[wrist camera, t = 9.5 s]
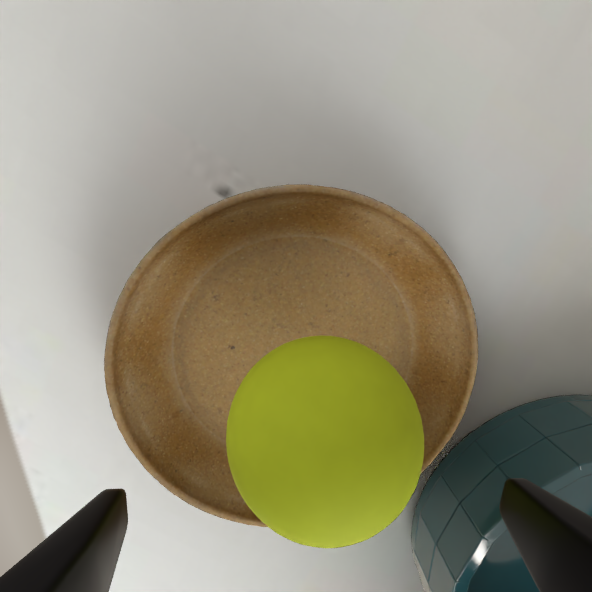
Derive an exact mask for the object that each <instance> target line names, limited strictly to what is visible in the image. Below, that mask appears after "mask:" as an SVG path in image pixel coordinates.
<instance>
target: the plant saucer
mask: <svg viewBox="0 0 592 592" xmlns="http://www.w3.org/2000/svg"><path fill="white" fill-rule="evenodd" d="M310 336H335V337H341V338H345V339H349V340H352V341H355V342H358V343H360V344H362V345H364V346H366V347H368V348H370V349H372V350H373V351H375V352H376V353H378V354H379V355H381V356H382V357H383V358H384V359H385V360H387V361H388V362H389V363H390V364H391V365H392V366H393V367H394V368H395V369H396V370H397V372H398V373H399V374H400V376H401V377H402V378H403V379H404V381H405V382H406V384H407V385H408V387H409V389H410V391H411V393H412V395H413V397H414V399H415V401H416V404H417V407H418V410H419V413H420V416H421V420H422V426H423V433H424V458H423V465H422V469H421V473H422V472H423V471H424V470H425V469H426V468H427V467H428V466H429V465H430V464H431V463H432V462H433V460H434V459H435V458H436V456H437V455H438V454H439V453H440V452H441V451H442V449H443V448H444V447H445V445H446V444H447V442H448V441H449V440H450V438H451V437H452V435H453V434H454V432H455V430H456V429H457V427H458V425H459V423H460V421H461V419H462V417H463V415H464V413H465V410H466V408H467V405H468V403H469V398H470V395H471V393H472V389H473V385H474V381H475V376H476V371H477V361H478V340H477V338H478V333H477V324H476V319H475V313H474V310H473V307H472V303H471V299H470V297H469V294H468V292H467V290H466V287H465V284H464V282H463V280H462V278H461V276H460V275H459V273H458V271H457V269H456V267H455V266H454V264H453V263H452V261H451V260H450V259H449V257H448V256H447V254H446V253H445V251H444V250H443V249H442V248H441V247H440V245H439V244H438V243H437V242H436V241H435V240H434V239H433V238H432V237H431V235H429V234H428V233H427V232H426V231H425V230H424V229H423V228H422V227H420V226H419V225H418V224H417V223H415V222H414V221H413V220H411V219H410V218H408V217H407V216H406V215H404V214H402V213H400V212H399V211H397V210H395V209H393V208H392V207H390V206H389V205H386V204H384V203H382V202H378V201H377V200H375V199H372V198H370V197H367V196H365V195H362V194H359V193H356V192H352V191H347V190H343V189H338V188H333V187H324V186H313V185H281V186H273V187H266V188H260V189H255V190H252V191H248V192H244V193H242V194H238V195H235V196H232V197H229V198H226V199H224V200H222V201H219V202H217V203H215V204H212V205H210V206H208V207H206V208H204V209H202V210H201V211H199V212H197V213H196V214H194V215H192V216H191V217H189V218H188V219H186V220H185V221H183V222H182V223H180V224H179V225H177V226H176V227H175V228H174V229H172V230H171V231H170V232H168V233H167V234H166V235H165V236H163V237H162V238H161V239H160V240H159V241H158V242H157V243H156V244H155V245H154V246H153V247H152V249H151V250H150V251H149V252H148V253H147V254H146V255H145V256H144V258H143V259H142V260H141V262H140V263H139V264H138V266H137V267H136V268H135V270H134V271H133V273H132V274H131V276H130V277H129V279H128V280H127V282H126V284H125V286H124V288H123V290H122V292H121V294H120V296H119V298H118V301H117V303H116V306H115V309H114V311H113V314H112V317H111V320H110V324H109V329H108V334H107V340H106V348H105V358H104V371H105V382H106V389H107V394H108V398H109V402H110V407H111V409H112V413H113V416H114V419H115V420H116V422H117V425H118V428H119V430H120V432H121V433H122V435H123V437H124V439H125V441H126V443H127V445H128V446H129V448H130V449H131V451H132V452H133V453H134V454H135V456H136V458H137V459H138V460H139V461H140V463H141V464H142V465H143V466H144V468H145V469H146V470H147V471H148V472H149V473H150V474H151V475H152V476H153V477H154V478H155V479H156V480H158V481H159V483H160V484H162V485H163V486H164V487H165V488H167V489H168V490H169V491H170V492H171V493H173V494H174V495H176V496H178V497H179V498H180V499H182V500H184V501H185V502H187V503H188V504H190V505H192V506H194V507H196V508H198V509H200V510H203V511H205V512H207V513H209V514H212V515H215V516H218V517H220V518H224V519H227V520H231V521H235V522H239V523H244V524H247V525H254V526H261V527H268V526H267V525H265V524H264V523H263V522H262V521H261V520H260V519H259V518H258V517H257V516H256V515H255V514H254V513H253V512H252V510H251V509H250V508H249V507H248V505H247V504H246V502H245V501H244V499H243V498H242V496H241V494H240V492H239V491H238V488H237V486H236V484H235V482H234V479H233V476H232V473H231V470H230V466H229V462H228V456H227V447H226V431H227V420H228V416H229V412H230V408H231V404H232V401H233V399H234V396H235V394H236V392H237V390H238V388H239V386H240V384H241V383H242V381H243V379H244V377H245V376H246V375H247V373H248V372H249V371H250V369H251V368H252V367H253V366H254V365H255V364H256V363H257V362H258V361H259V360H260V359H262V358H263V357H264V356H265V355H267V354H268V353H269V352H271V351H272V350H274V349H275V348H277V347H279V346H281V345H283V344H285V343H287V342H290V341H293V340H296V339H299V338H304V337H310ZM421 473H420V474H421Z"/></svg>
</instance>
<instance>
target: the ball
mask: <svg viewBox="0 0 592 592" xmlns="http://www.w3.org/2000/svg"><path fill="white" fill-rule="evenodd" d="M226 447H227V456H228V462H229V466H230V470H231V473H232V476H233V479H234V482H235V484H236V486H237V488H238V491H239V492H240V494H241V496H242V498H243V499H244V501H245V502H246V504H247V505H248V507H249V508H250V509H251V510H252V512H253V513H254V514H255V515H256V516H257V517H258V518H259V519H260V520H261V521H262V522H263V523H264V524H265V525H267V526H268V527H269V528H271V529H272V530H273V531H275V532H276V533H277V534H279V535H281V536H283V537H285V538H287V539H289V540H291V541H294V542H296V543H299V544H302V545H307V546H312V547H318V548H338V547H344V546H349V545H353V544H356V543H359V542H362V541H364V540H367V539H369V538H371V537H372V536H374V535H376V534H377V533H379V532H381V531H382V530H383V529H384V528H386V527H387V526H388V525H390V524H391V523H392V522H393V521H394V520H395V519H396V518H397V517H398V516H399V514H400V513H401V512H402V511H403V509H404V508H405V507H406V505H407V503H408V502H409V500H410V498H411V496H412V494H413V493H414V491H415V488H416V486H417V484H418V480H419V476H420V473H421V469H422V465H423V458H424V433H423V426H422V420H421V416H420V413H419V410H418V407H417V404H416V401H415V399H414V397H413V395H412V393H411V391H410V389H409V387H408V385H407V384H406V382H405V381H404V379H403V378H402V377H401V376H400V374H399V373H398V372H397V370H396V369H395V368H394V367H393V366H392V365H391V364H390V363H389V362H388V361H387V360H385V359H384V358H383V357H382V356H381V355H379V354H378V353H376V352H375V351H373V350H372V349H370V348H368V347H366V346H364V345H362V344H360V343H358V342H355V341H352V340H349V339H345V338H341V337H335V336H310V337H304V338H299V339H296V340H293V341H290V342H287V343H285V344H283V345H281V346H279V347H277V348H275V349H274V350H272V351H271V352H269V353H268V354H267V355H265V356H264V357H263V358H262V359H260V360H259V361H258V362H257V363H256V364H255V365H254V366H253V367H252V368H251V369H250V371H249V372H248V373H247V375H246V376H245V377H244V379H243V381H242V383H241V384H240V386H239V388H238V390H237V392H236V394H235V396H234V399H233V401H232V404H231V408H230V412H229V416H228V420H227V431H226Z"/></svg>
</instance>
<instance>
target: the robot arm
mask: <svg viewBox="0 0 592 592" xmlns="http://www.w3.org/2000/svg"><path fill="white" fill-rule="evenodd" d="M499 509H500V514H501V516H502V519H503V521H504V523H505V525H506V527H507V529H508V531H509V533H510V535H511V537H512V539H513V541H514V543H515V545H516V547H517V549H518V551H519V553H520V555H521V557H522V559H523V561H524V563H525V565H526V567H527V569H528V570H529V572H530V574H531V576H532V578H533V580H534V582H535V584H536V586H537V588H538V589H539V591H540V592H592V517H591V516H589V515H588V514H586V513H584V512H582V511H581V510H579V509H577V508H575V507H574V506H572V505H570V504H568V503H567V502H565V501H563V500H561V499H560V498H558V497H556V496H554V495H553V494H551V493H549V492H547V491H546V490H544V489H542V488H540V487H539V486H537V485H535V484H533V483H532V482H530V481H528V480H526V479H523V478H511V479H507V480H506V482H505V484H504V488H503V492H502V496H501V500H500V505H499ZM127 524H128V514H127V501H126V493H125V490H123V489H106V490H104V491H102V492H101V493H100V494H98V495H97V496H96V497H95V498H94V499H93V500H91V501H90V502H89V503H88V504H87V505H85V506H84V507H83V508H82V509H81V510H80V511H78V512H77V513H76V514H75V515H74V516H72V517H71V518H70V519H69V520H68V521H66V522H65V523H64V524H63V525H62V526H61V527H59V528H58V529H57V530H56V531H55V532H53V533H52V534H51V535H50V536H49V537H48V538H46V539H45V540H44V541H43V542H42V543H40V544H39V545H38V546H37V547H36V548H35V549H33V550H32V551H31V552H30V553H29V554H27V556H25V557H24V558H23V559H21V560H20V561H19V562H18V563H17V564H16V565H14V566H13V567H12V568H11V569H10V570H8V571H7V572H6V573H5V574H4V575H2V576H1V577H0V592H109V588H110V585H111V581H112V578H113V575H114V571H115V568H116V564H117V561H118V557H119V554H120V551H121V547H122V544H123V540H124V537H125V533H126V530H127Z"/></svg>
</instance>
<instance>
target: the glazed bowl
mask: <svg viewBox="0 0 592 592" xmlns="http://www.w3.org/2000/svg"><path fill="white" fill-rule="evenodd" d="M511 478H523V479H526V480H528V481H530V482H532V483H533V484H535V485H537V486H539V487H540V488H542V489H544V490H546V491H547V492H549V493H551V494H553V495H554V496H556V497H558V498H560V499H561V500H563V501H565V502H567V503H568V504H570V505H572V506H574V507H575V508H577V509H579V510H581V511H582V512H584V513H586V514H588V515H589V516H591V517H592V396H589V395H565V396H556V397H550V398H545V399H540V400H537V401H533V402H530V403H527V404H523V405H521V406H518V407H516V408H514V409H511V410H509V411H507V412H504V413H502V414H500V415H499V416H497V417H495V418H493V419H491V420H490V421H488V422H486V423H485V424H483V425H482V426H480V427H479V428H477V429H476V430H475V431H473V432H472V433H470V434H469V435H468V436H467V437H466V438H464V439H463V440H462V441H461V442H460V443H459V444H458V445H456V446H455V447H454V448H453V449H452V450H451V452H450V453H449V454H448V455H447V456H446V457H445V458H444V459H443V460H442V461H441V463H440V464H439V465H438V467H437V468H436V470H435V471H434V472H433V474H432V475H431V477H430V478H429V480H428V482H427V484H426V486H425V487H424V489H423V491H422V493H421V496H420V498H419V501H418V503H417V506H416V510H415V514H414V518H413V522H412V533H411V542H412V553H413V557H414V561H415V565H416V567H417V569H418V572H419V576H420V580H421V583H422V586H423V588H424V591H425V592H540V591H539V589H538V588H537V586H536V584H535V582H534V580H533V578H532V576H531V574H530V572H529V570H528V569H527V567H526V565H525V563H524V561H523V559H522V557H521V555H520V553H519V551H518V549H517V547H516V545H515V543H514V541H513V539H512V537H511V535H510V533H509V531H508V529H507V527H506V525H505V523H504V521H503V519H502V516H501V514H500V509H499V505H500V500H501V496H502V492H503V488H504V484H505V482H506V480H507V479H511Z"/></svg>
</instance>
